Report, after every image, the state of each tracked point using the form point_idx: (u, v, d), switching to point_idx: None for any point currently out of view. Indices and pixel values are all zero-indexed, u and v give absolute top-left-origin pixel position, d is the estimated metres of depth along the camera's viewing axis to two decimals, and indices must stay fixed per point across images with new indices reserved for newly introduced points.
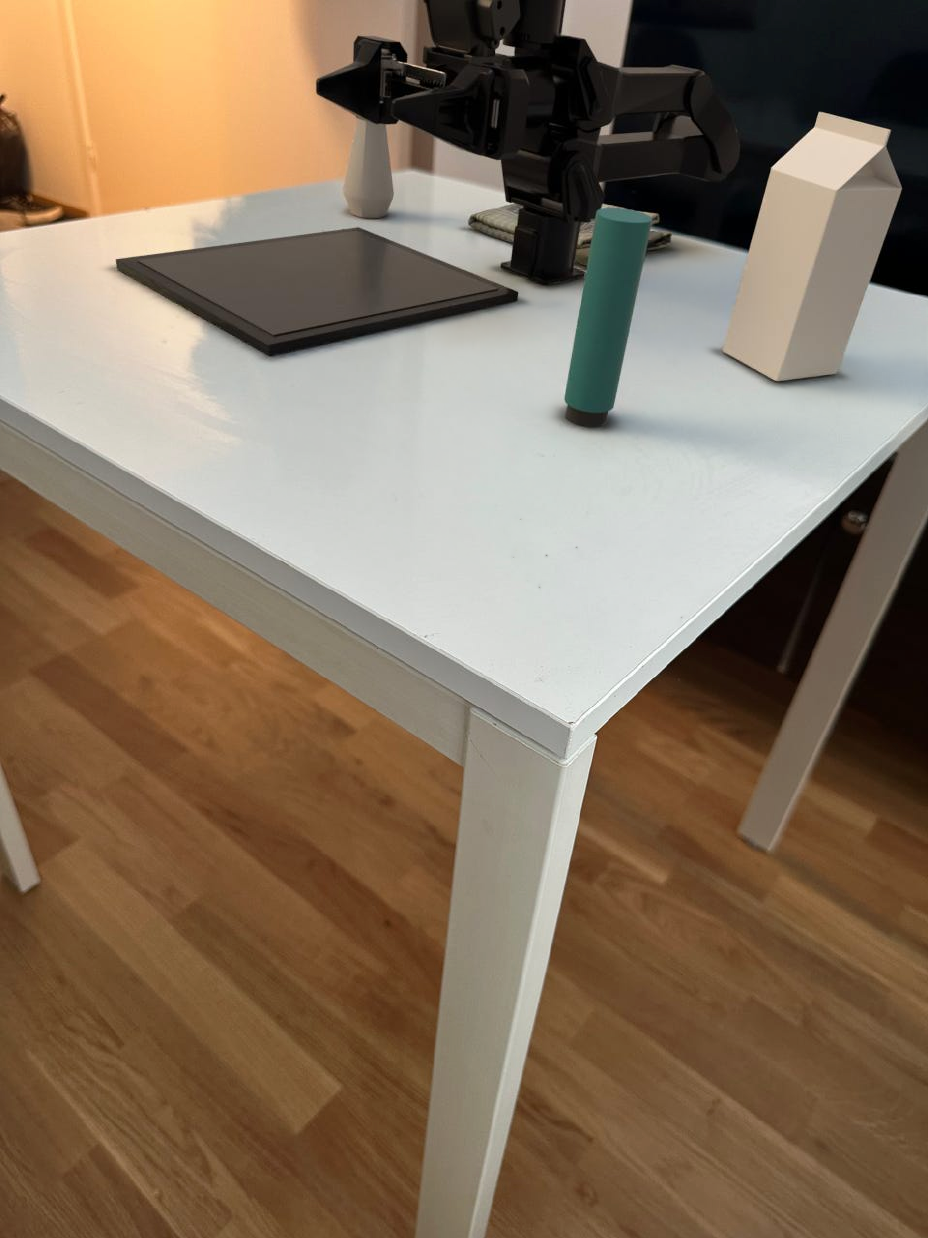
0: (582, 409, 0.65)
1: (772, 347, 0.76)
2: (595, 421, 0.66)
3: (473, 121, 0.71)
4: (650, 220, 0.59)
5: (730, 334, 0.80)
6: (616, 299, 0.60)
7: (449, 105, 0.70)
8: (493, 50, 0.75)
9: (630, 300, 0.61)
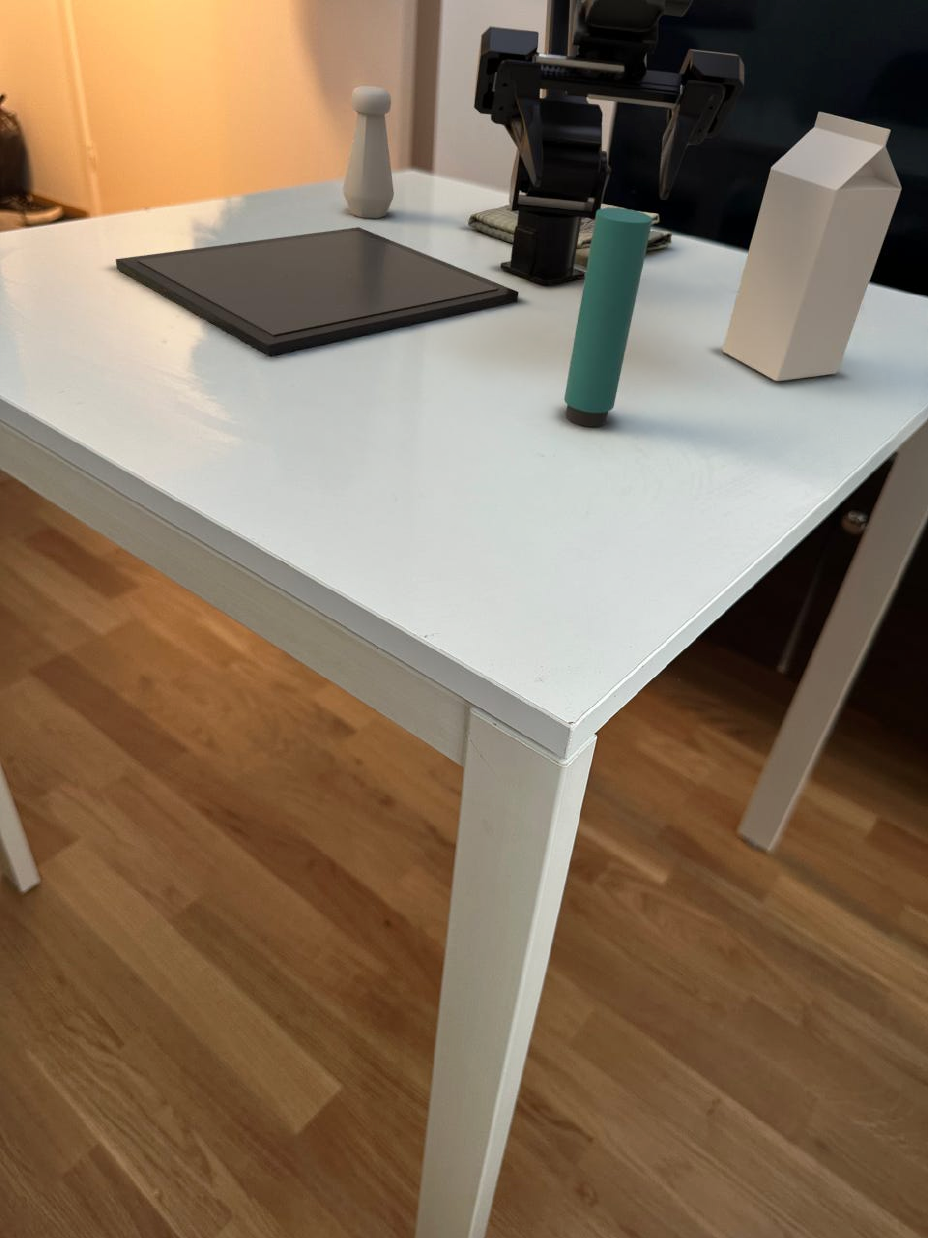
0: (582, 409, 0.65)
1: (772, 347, 0.76)
2: (595, 421, 0.66)
3: None
4: (650, 220, 0.59)
5: (730, 334, 0.80)
6: (616, 299, 0.60)
7: None
8: None
9: (630, 300, 0.61)
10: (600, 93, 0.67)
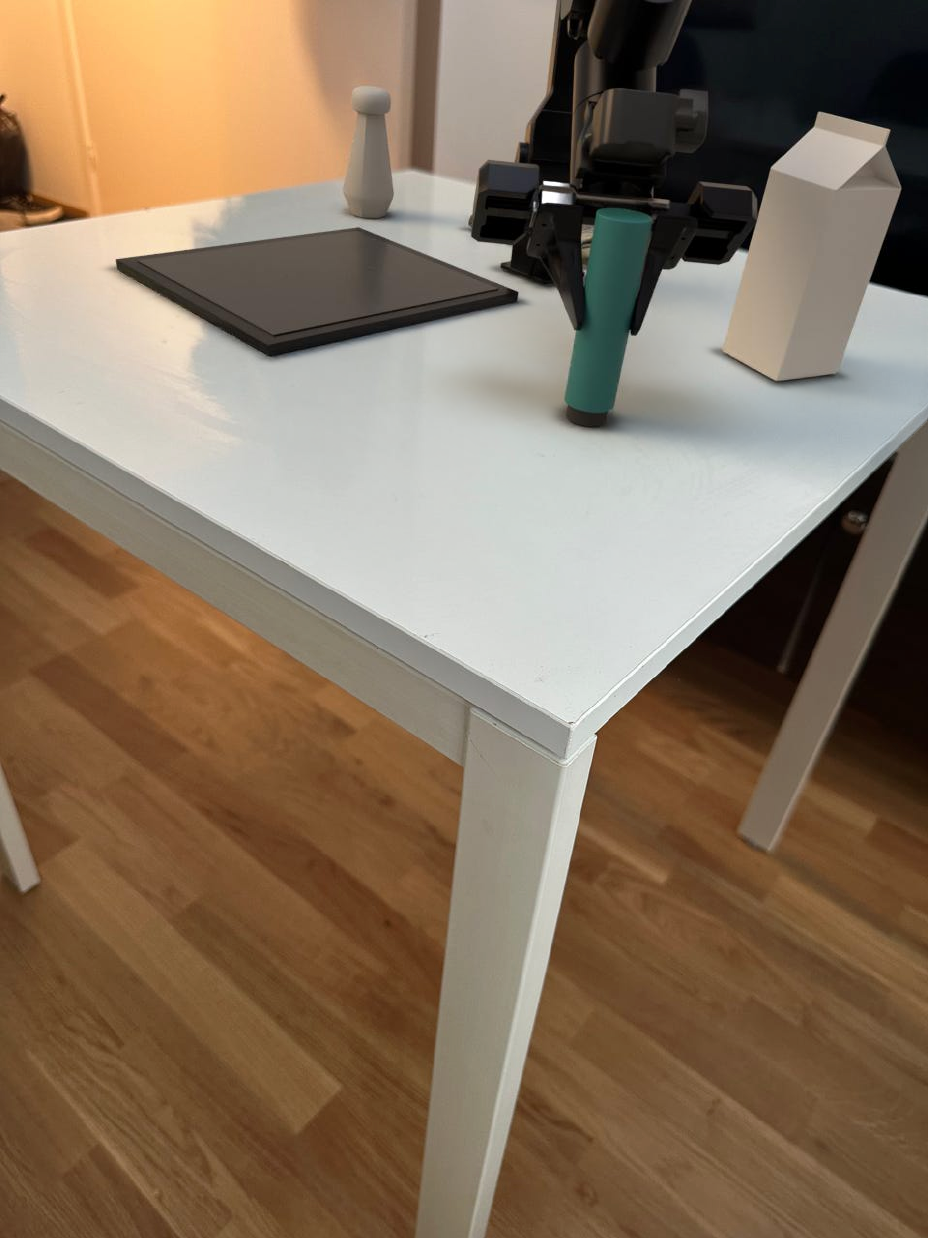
0: (582, 409, 0.65)
1: (772, 347, 0.76)
2: (596, 421, 0.66)
3: None
4: (650, 220, 0.59)
5: (730, 334, 0.80)
6: (616, 299, 0.60)
7: None
8: None
9: (630, 300, 0.61)
10: None
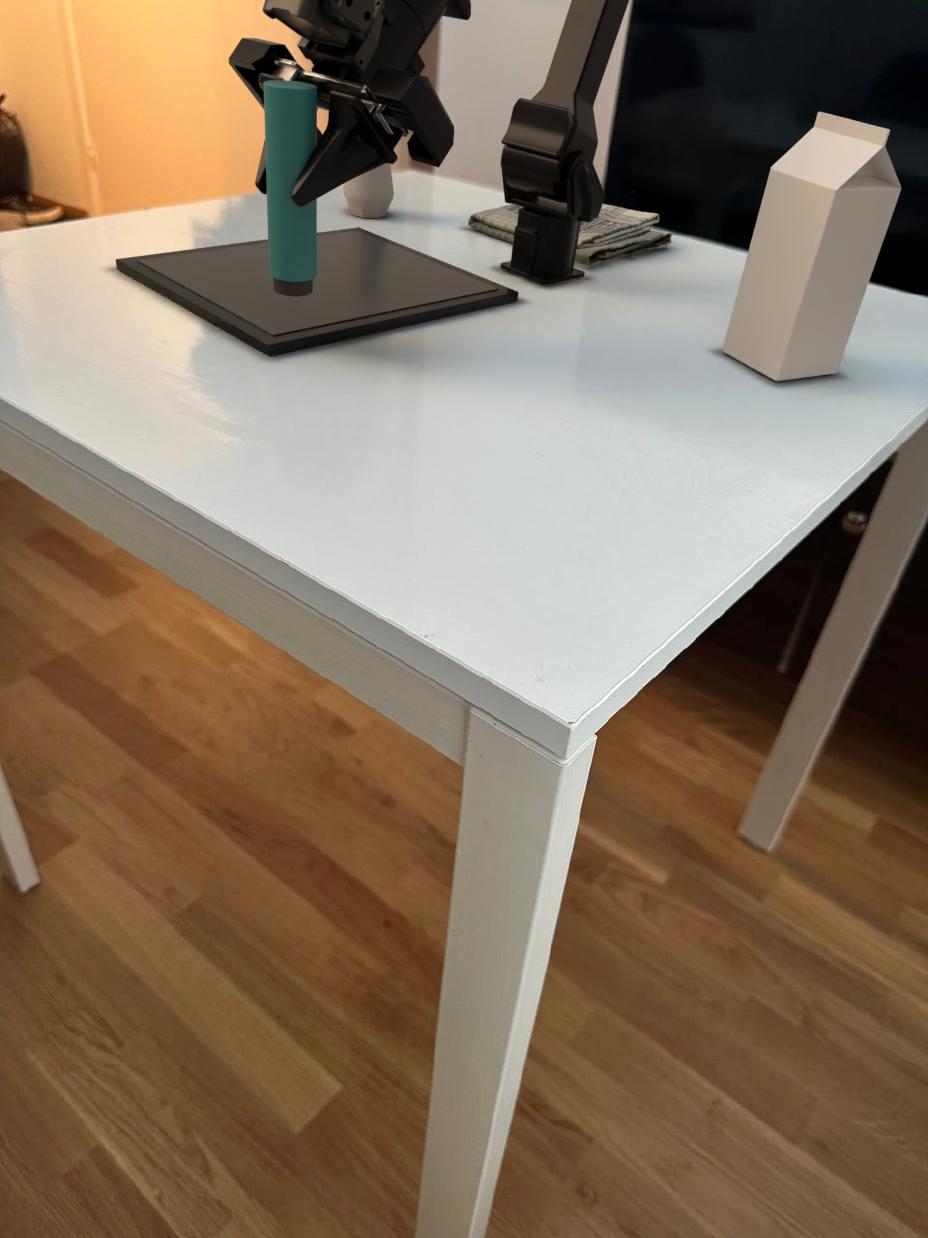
0: (269, 273, 0.70)
1: (771, 347, 0.76)
2: (282, 289, 0.70)
3: (369, 140, 0.66)
4: (297, 88, 0.62)
5: (730, 334, 0.80)
6: (273, 163, 0.65)
7: (339, 148, 0.65)
8: None
9: (288, 167, 0.65)
10: None
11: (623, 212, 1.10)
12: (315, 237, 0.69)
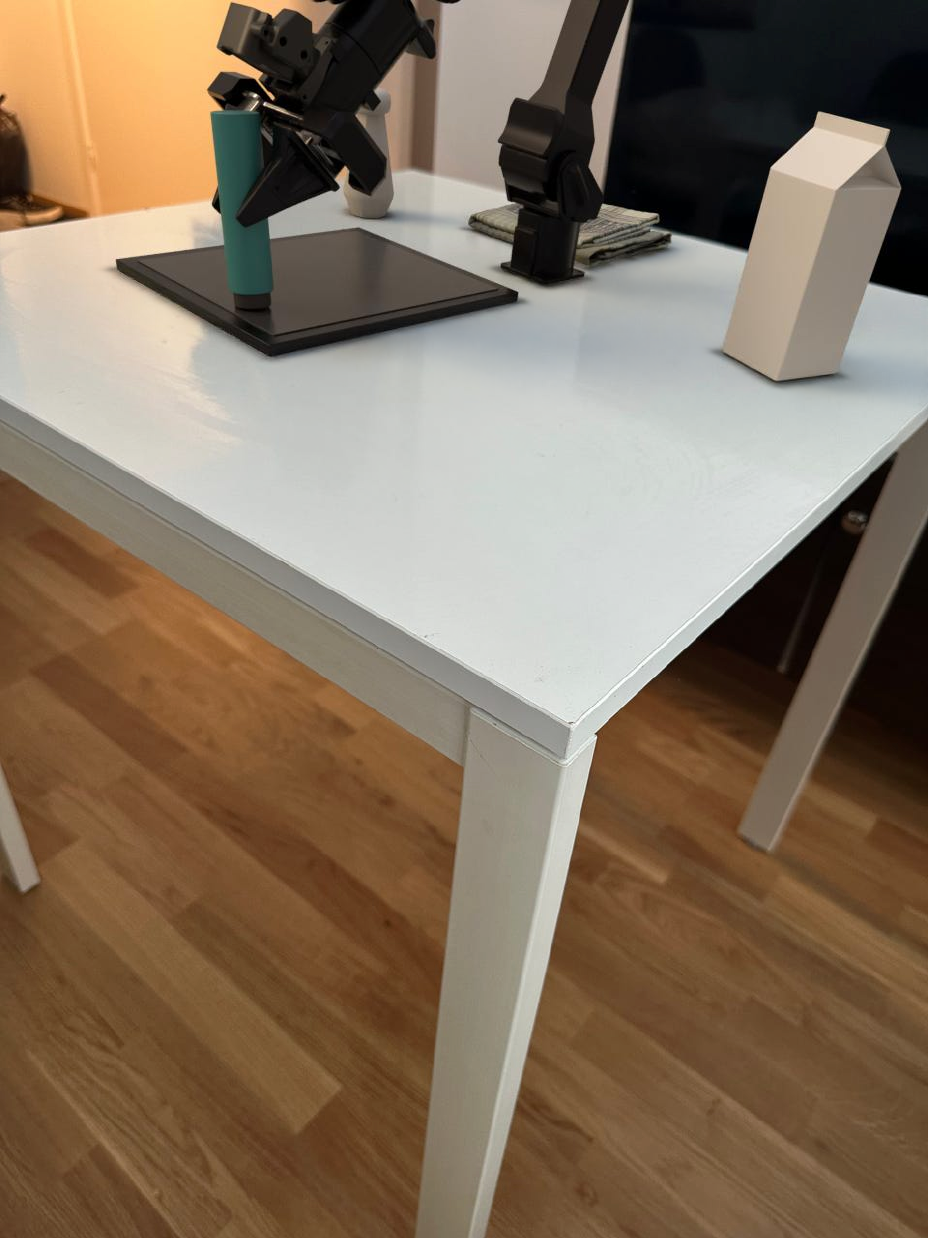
0: (229, 288, 0.75)
1: (771, 347, 0.76)
2: (239, 302, 0.75)
3: (311, 168, 0.70)
4: (235, 114, 0.67)
5: (730, 334, 0.80)
6: (221, 184, 0.70)
7: (282, 175, 0.70)
8: (314, 53, 0.67)
9: (233, 187, 0.70)
10: None
11: (623, 212, 1.10)
12: (267, 253, 0.74)
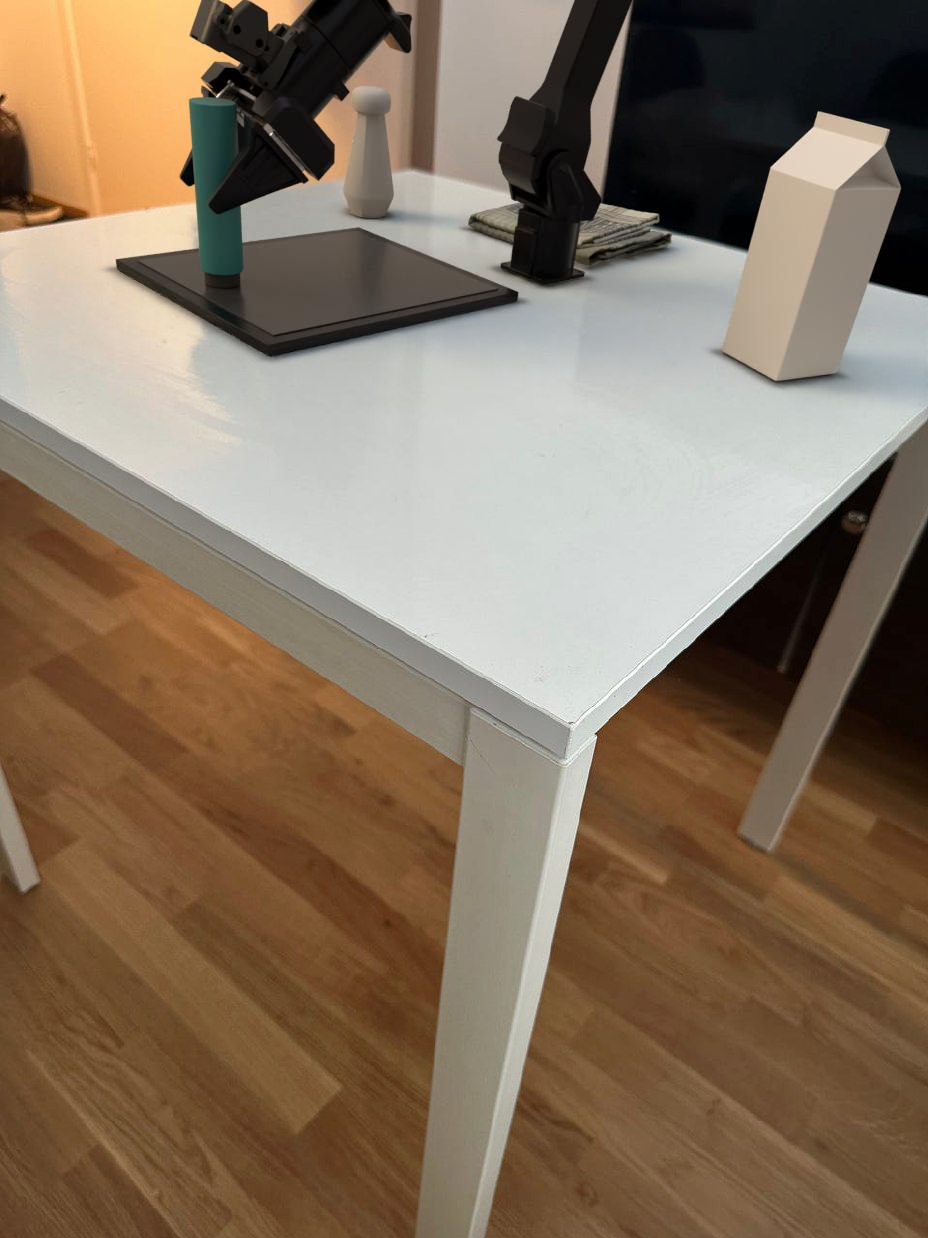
0: None
1: (771, 347, 0.76)
2: (207, 280, 0.79)
3: (281, 160, 0.71)
4: (208, 104, 0.71)
5: (729, 334, 0.80)
6: (194, 168, 0.74)
7: (252, 165, 0.72)
8: (278, 43, 0.71)
9: (204, 173, 0.74)
10: (262, 124, 0.76)
11: (623, 212, 1.10)
12: (236, 237, 0.77)
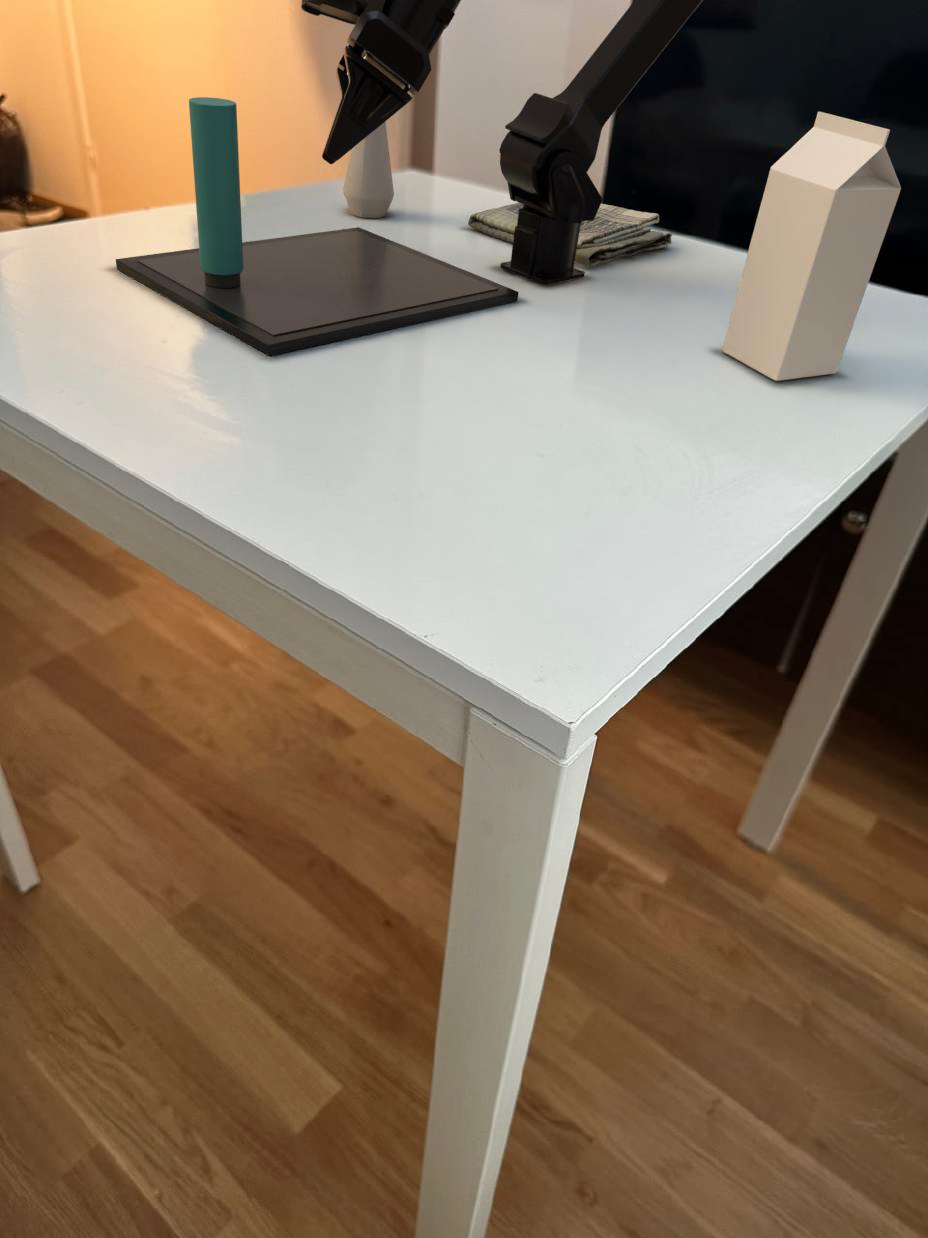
0: None
1: (771, 347, 0.76)
2: (207, 280, 0.79)
3: (383, 85, 0.71)
4: (208, 104, 0.71)
5: (729, 334, 0.80)
6: (194, 168, 0.74)
7: (358, 100, 0.72)
8: None
9: (204, 173, 0.74)
10: None
11: (623, 212, 1.10)
12: (236, 237, 0.77)
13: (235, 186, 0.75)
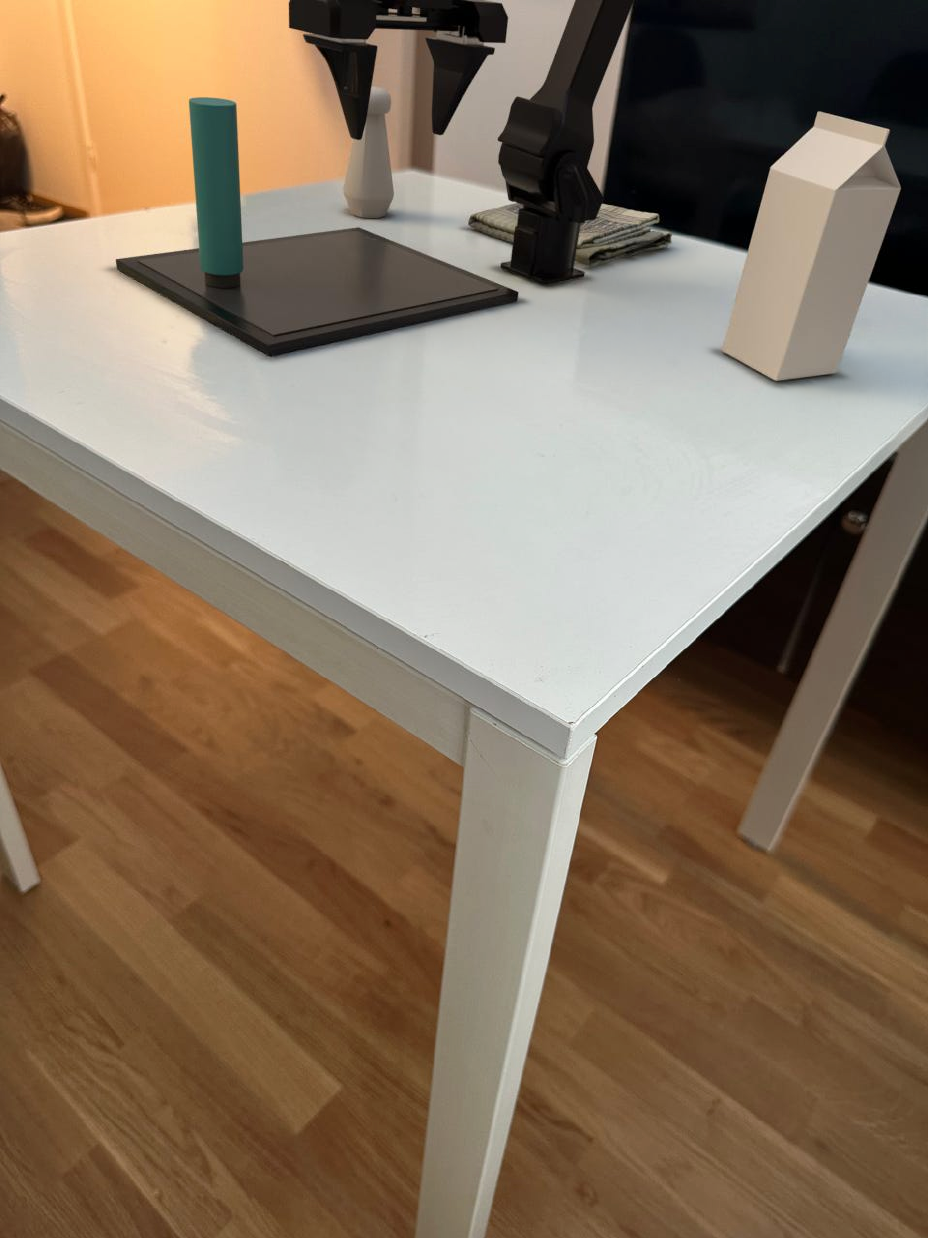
0: None
1: (771, 347, 0.76)
2: (207, 280, 0.79)
3: None
4: (208, 104, 0.71)
5: (729, 334, 0.80)
6: (194, 168, 0.74)
7: (343, 73, 0.73)
8: None
9: (204, 173, 0.74)
10: (409, 29, 0.74)
11: (623, 212, 1.10)
12: (236, 237, 0.77)
13: (235, 186, 0.75)
